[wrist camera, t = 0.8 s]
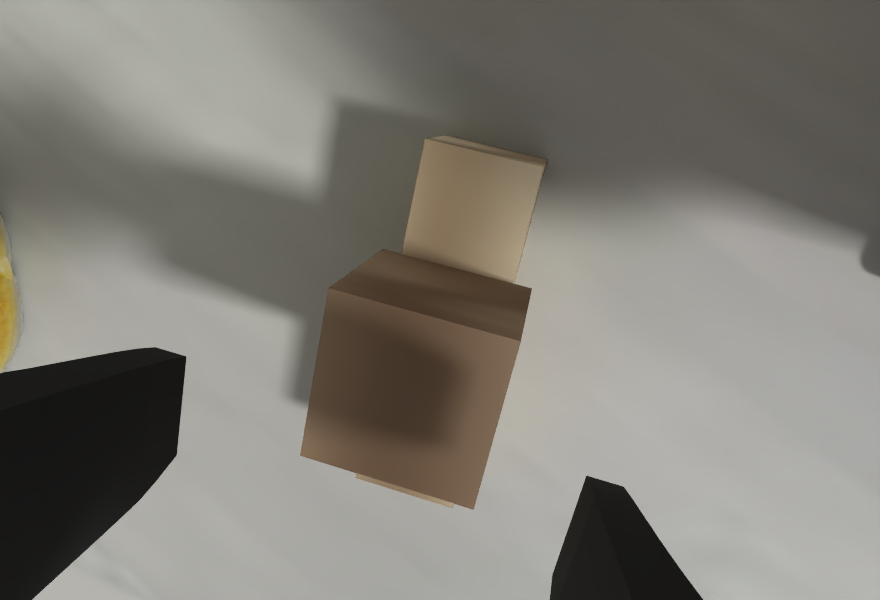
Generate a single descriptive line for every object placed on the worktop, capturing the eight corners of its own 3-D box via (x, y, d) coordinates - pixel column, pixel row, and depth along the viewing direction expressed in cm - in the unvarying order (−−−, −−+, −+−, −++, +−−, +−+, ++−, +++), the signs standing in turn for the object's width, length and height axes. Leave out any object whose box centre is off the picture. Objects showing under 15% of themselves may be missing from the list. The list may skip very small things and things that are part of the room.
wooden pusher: (564, 163, 18) (563, 190, 11) (482, 460, 21) (443, 616, 14) (430, 131, 18) (354, 139, 12) (369, 426, 22) (282, 562, 15)
